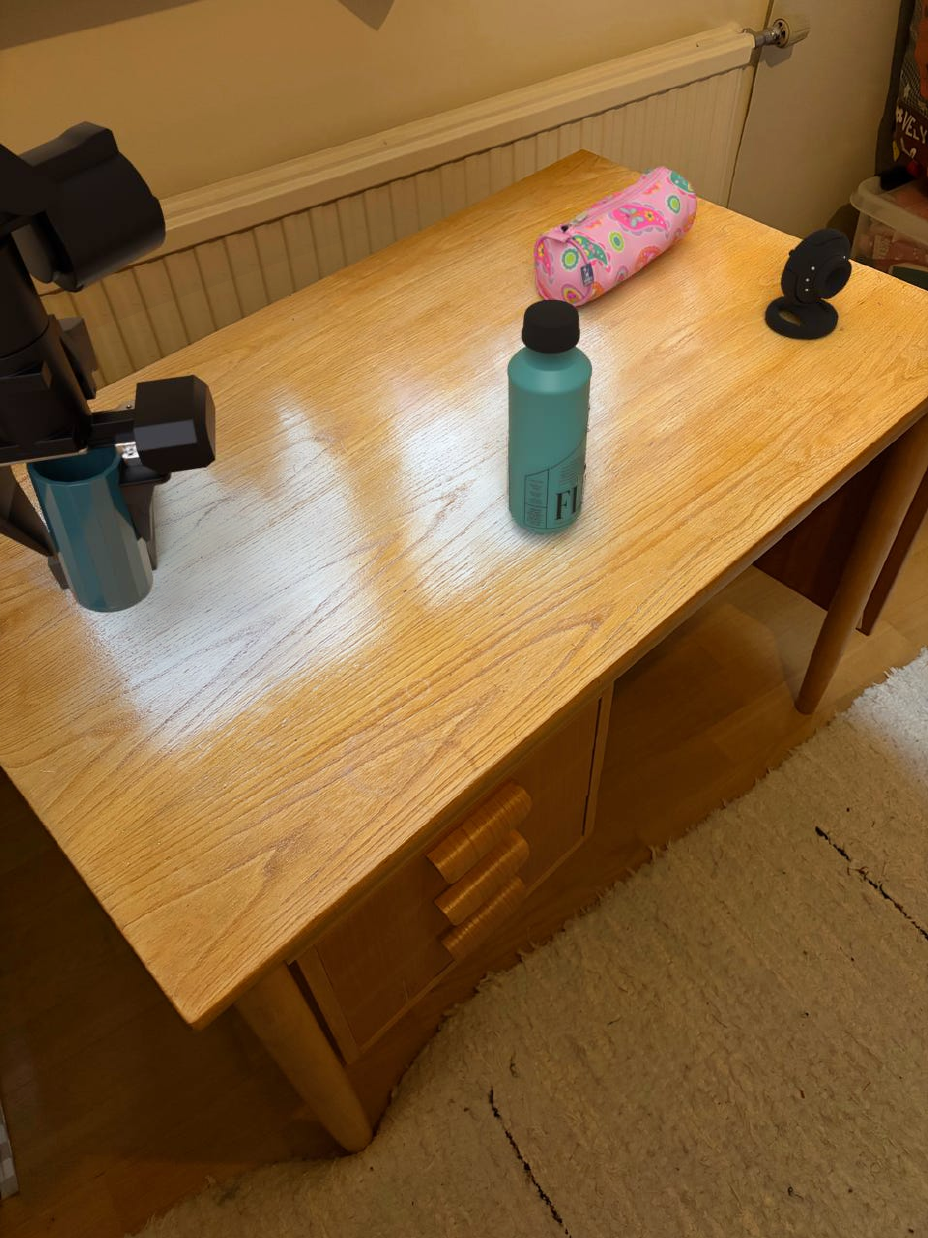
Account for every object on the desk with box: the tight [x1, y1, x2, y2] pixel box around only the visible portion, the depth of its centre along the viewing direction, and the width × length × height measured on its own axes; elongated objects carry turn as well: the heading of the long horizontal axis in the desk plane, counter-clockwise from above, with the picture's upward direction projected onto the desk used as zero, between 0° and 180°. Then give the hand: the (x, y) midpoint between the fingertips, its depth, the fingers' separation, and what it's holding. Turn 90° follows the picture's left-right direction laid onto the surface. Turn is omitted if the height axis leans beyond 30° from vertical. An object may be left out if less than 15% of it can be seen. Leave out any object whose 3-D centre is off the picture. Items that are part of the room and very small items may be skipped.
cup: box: [25, 446, 155, 614], centre depth 56 cm, size 5×5×11 cm
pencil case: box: [533, 165, 698, 308], centre depth 99 cm, size 21×9×9 cm, turn 136°
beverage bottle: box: [505, 299, 593, 534], centre depth 68 cm, size 6×7×20 cm
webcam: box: [764, 227, 853, 340], centre depth 90 cm, size 8×8×10 cm
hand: (100, 544), depth 57 cm, fingers closed on cup, 6 cm apart
